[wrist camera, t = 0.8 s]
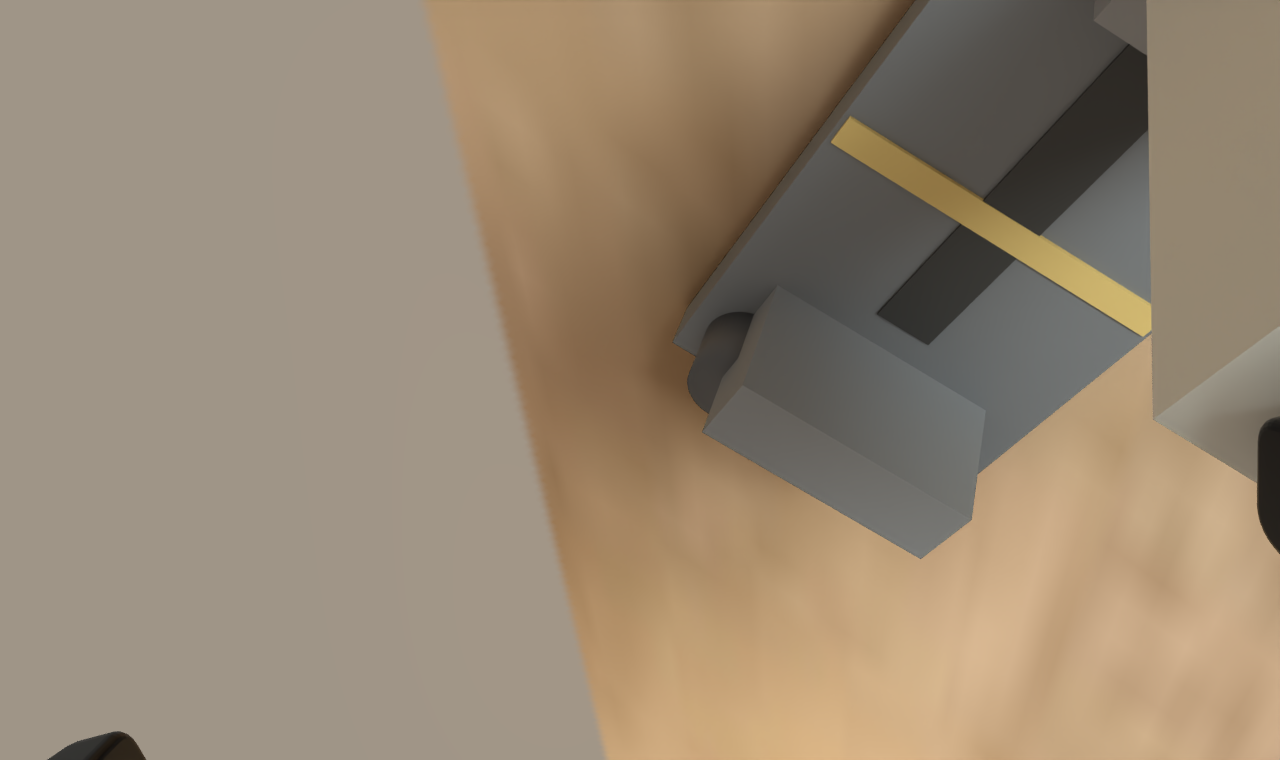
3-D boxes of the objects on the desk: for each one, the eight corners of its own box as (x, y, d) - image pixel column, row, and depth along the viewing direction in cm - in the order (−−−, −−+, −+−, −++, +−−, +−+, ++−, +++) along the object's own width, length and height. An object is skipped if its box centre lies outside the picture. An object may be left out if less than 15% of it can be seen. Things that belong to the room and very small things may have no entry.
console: (1263, -470, 15) (1296, -404, 12) (1688, -161, 16) (1816, -28, 13) (686, 308, 26) (630, 439, 23) (949, 463, 27) (926, 609, 24)
